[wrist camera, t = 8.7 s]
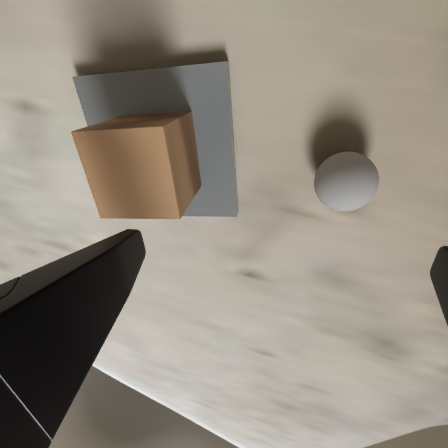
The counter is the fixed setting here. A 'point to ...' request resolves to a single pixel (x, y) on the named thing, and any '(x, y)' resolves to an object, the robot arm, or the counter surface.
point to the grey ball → (346, 181)
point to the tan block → (141, 165)
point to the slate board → (171, 103)
